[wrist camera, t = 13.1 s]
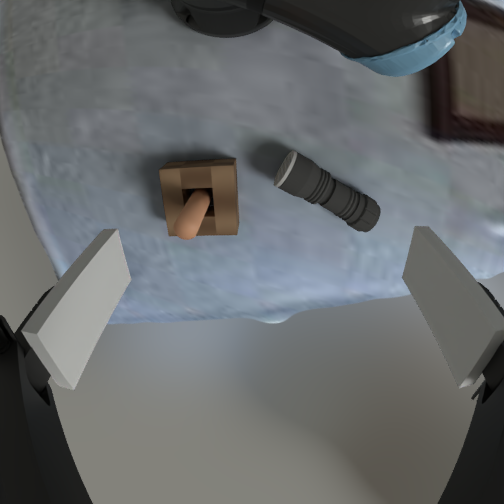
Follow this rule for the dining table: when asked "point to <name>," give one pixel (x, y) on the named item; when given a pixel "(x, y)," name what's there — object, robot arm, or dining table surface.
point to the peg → (193, 213)
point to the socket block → (202, 176)
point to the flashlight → (326, 192)
